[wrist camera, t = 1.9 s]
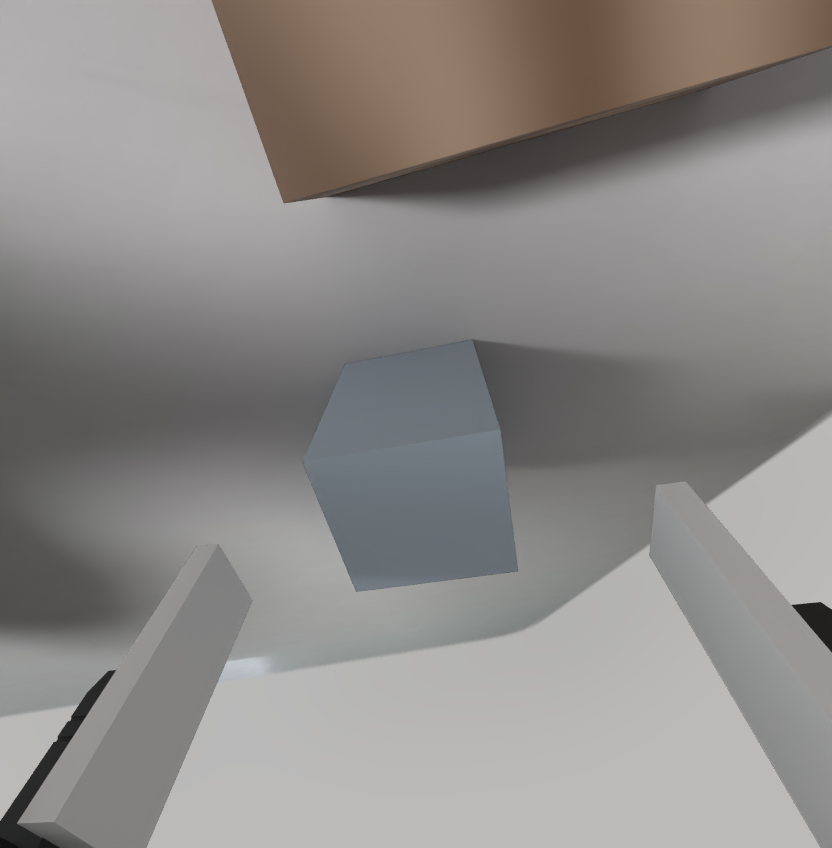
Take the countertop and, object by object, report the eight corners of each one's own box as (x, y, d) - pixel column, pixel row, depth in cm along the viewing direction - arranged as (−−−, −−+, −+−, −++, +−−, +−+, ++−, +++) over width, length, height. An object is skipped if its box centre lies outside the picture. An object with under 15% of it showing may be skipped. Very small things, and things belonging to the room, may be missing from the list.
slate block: (376, 466, 23) (356, 591, 16) (345, 363, 20) (302, 462, 13) (487, 448, 22) (518, 571, 15) (472, 339, 19) (500, 429, 12)
